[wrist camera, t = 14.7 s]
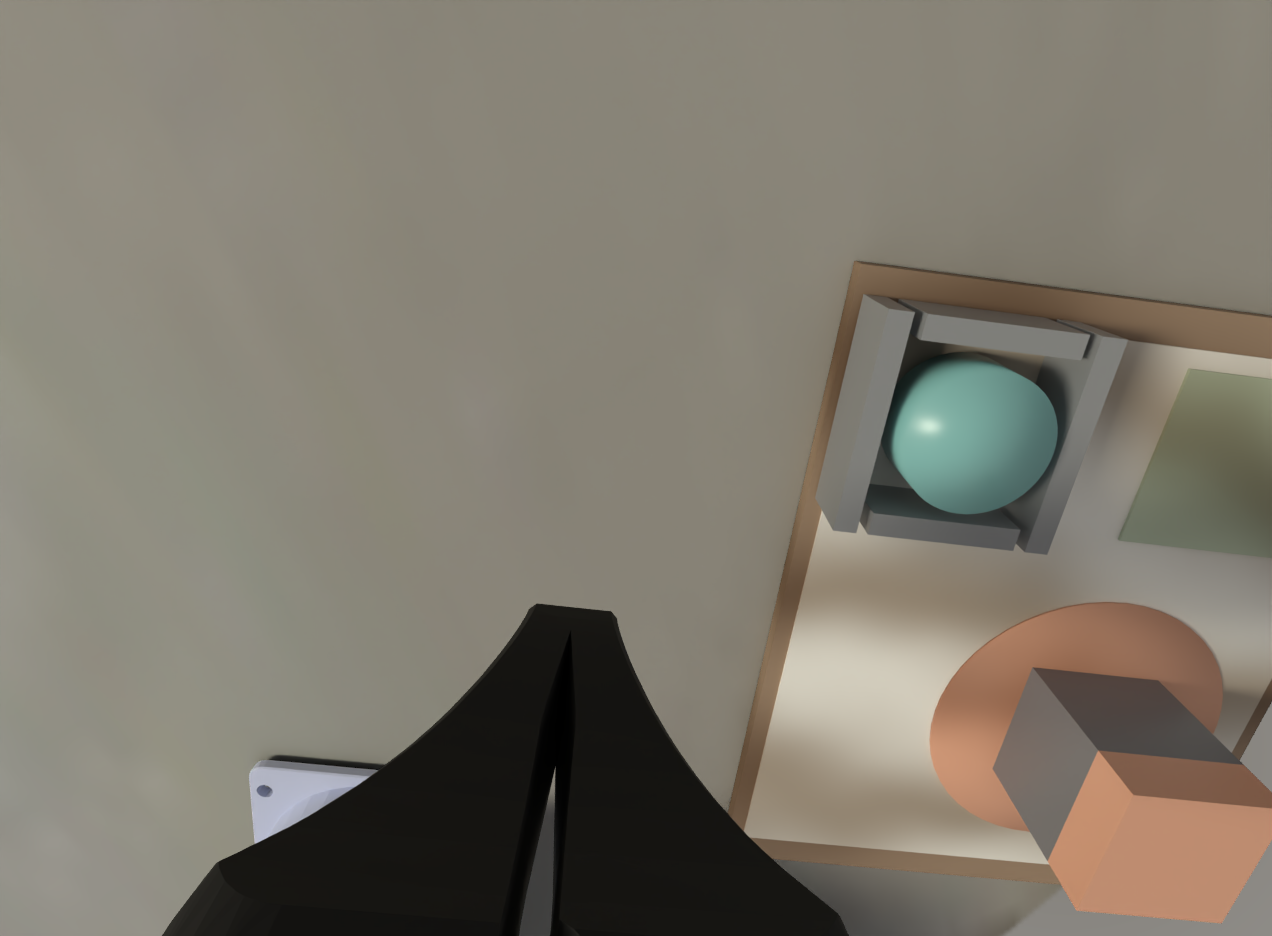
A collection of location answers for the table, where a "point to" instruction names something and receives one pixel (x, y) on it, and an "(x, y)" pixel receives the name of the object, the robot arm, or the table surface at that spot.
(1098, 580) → the colouring board
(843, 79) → the table surface
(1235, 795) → the salmon block
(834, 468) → the button housing
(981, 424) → the button
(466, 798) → the robot arm
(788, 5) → the table surface
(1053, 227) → the table surface
